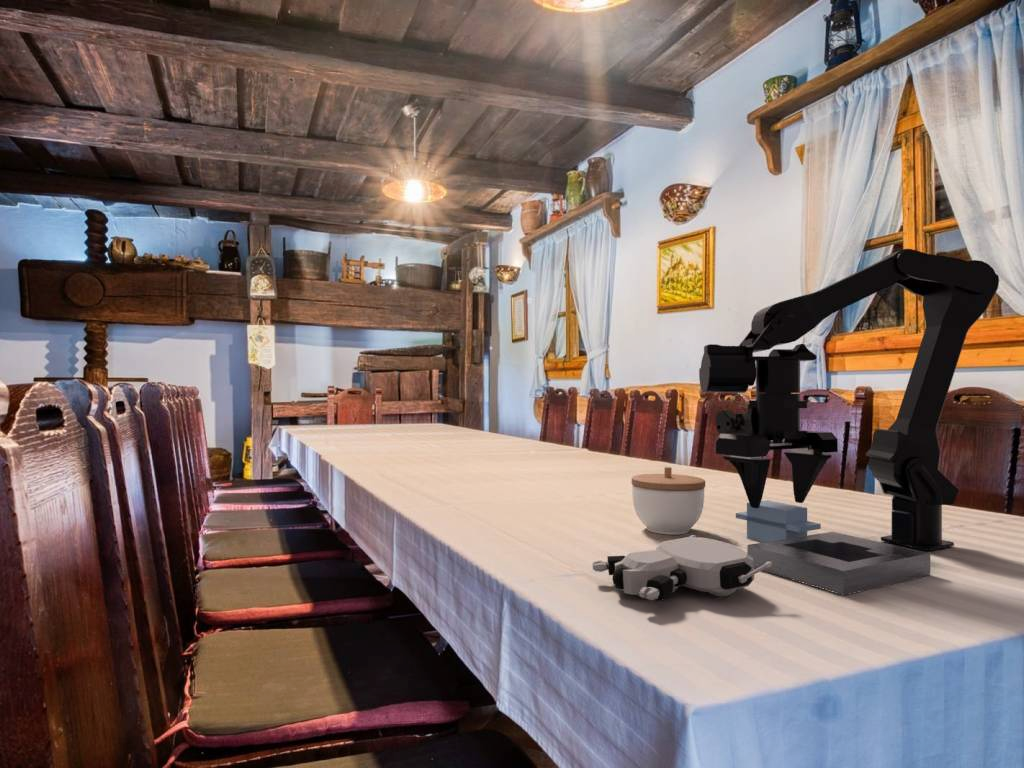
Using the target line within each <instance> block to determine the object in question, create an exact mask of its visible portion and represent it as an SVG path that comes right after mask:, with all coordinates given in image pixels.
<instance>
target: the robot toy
mask: <svg viewBox="0 0 1024 768" xmlns="http://www.w3.org/2000/svg"><path fill="white" fill-rule="evenodd" d="M606 558H607V561H605V560H595V561H593V562H592V569H593V571H595V572H601V573H602V572H604V571H608V575H609V576H612V584H613V585H614V587H615V588H616V589H618V590H621V591H622V590H623V594H627V595H635V596H638V597H639V598H642V599H645V600H647V601H656V602H659V601H663V600H665V599H666V598H669V597H670V596H672V595H673V593H674V592H676V591H677V590H678V589H679V587H682V586H683V587H685V588H688V589H691V590H692V589H693V590H695V591H700V592H705V593H709V594H710V595H712V596H717V597H727V596H730V595H732V594H734V593H735V592H736V591H737V590H738V589H739V590H740V589H742V588H746V587H748V588H749V586H750V585H751V584H752V582H753V581H754V580H755V575H756V574H758V573H760V572H762V570H763V569H765V568H768V567H770V566H771V565H772V562H766V563H765V564H764V565H763V566H761V567H759V568H757V569H755V568H754V563H753V558H752V557H751V556H750V555H749V554H748V553H747V551H746V550H744V549H743V548H741V547H738V546H736V545H733V544H731V543H728V542H725V541H721V540H717V539H712V538H709V537H707V538H706V537H698V536H697V535H695V534H692V535H689V536H686V537H682V538H675V539H669V540H664V541H662V542H661V543H660V544H659V545H657V547H656V548H655V549H652V550H643V551H636V552H629V553H628V554H627V555H612V556H611V555H609V556H607V557H606Z"/></svg>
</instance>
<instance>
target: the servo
mask: <svg viewBox="0 0 1024 768" xmlns="http://www.w3.org/2000/svg"><path fill="white" fill-rule="evenodd" d="M735 519H739V520H742V521H743V520H744V521H746V538H747V539H750V540H753V541H757V542H759V543H763V542H769V541H776V540H782V539H788V538H795V537H801V536H808V532H810V531H816V530H821V529H822V528H821V522H820V523H819V522H814V521H809V520H808V507H806V506H805V507H804V506H801V505H796V504H795V505H794V504H790V503H789V504H788V503H785V502H779V501H773V500H761V503H760V506H759V508H752V507H751V506H750V503H749V502H747V503H746V511H743V512H741V511H740V512H735Z"/></svg>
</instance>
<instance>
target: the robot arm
mask: <svg viewBox="0 0 1024 768" xmlns="http://www.w3.org/2000/svg"><path fill="white" fill-rule="evenodd" d="M999 283H1000V276H999V274H998V273H996V270H994V268H993V267H992V266H991V265H990V264H989V263H987V262H985V261H983V260H977V259H974V260H972V259H971V260H966V259H961V258H958V257H954V256H953V257H952V256H945V255H938V254H930V253H926V252H923V251H920V250H916V249H913V248H903V249H900V250H898V251H895V252H893V253H890V254H887V255H886V256H884V257H883V258H882V259H880V260H879V261H877V262H874V263H873V264H871V265H868V266H867V267H865V268H863V269H861V270H858V271H856V272H854V273H852V274H850V275H848V276H846V277H844V278H841V279H840V280H838V281H836V282H833V283H831V284H829V285H827V286H825V287H823V288H821V289H819V290H817V291H815V292H812V293H807V294H804V295H800V296H796V297H793V298H788V299H785V300H782V301H779V302H776V303H773V304H771V305H768V306H766V307H764V308H761V309H759V310H758V311H757V312H755V313H754V315H753V318H752V320H751V323H750V324H751V325H750V326H751V328H750V331H749V332H748V333H747V335H746V336H745V337H744V338H743V340H741V342H740V343H739V345H721V344H713V343H709V344H707V345H704V346H703V355H702V357H701V363H700V368H699V369H698V375H699V380H698V381H699V386H700V390H701V392H702V393H704V394H705V393H708V394H709V393H711V394H713V393H715V394H716V393H717V394H719V393H721V394H745V393H747V392H748V389H749V387H752V386H754V385H755V399H753V400H752V399H751V400H749V401H748V402H747V411H745V412H743V413H735V412H734V411H733V410H732V409H729V410H728V409H725V410H721V411H717V412H716V414H715V427H716V428H715V429H716V432H717V433H718V434H719V435H718V436H717V437H716V438H715V454H716V455H717V454H718V455H721V458H722V459H723V461H728V462H729V463H730V464H731V465H732V466H733V468H735V469H736V471H737V473H738V475H739V477H740V480H741V482H742V486H743V489H744V491H745V494H746V498H747V500H748V503H750V506H751V507H752V508H759V506H760V503H761V501H763V497H764V495H763V494H764V491H765V486H766V482H767V477H768V473H769V470H770V465H771V458H765V457H767V455H768V454H769V452H770V451H775V450H776V451H778V450H779V451H780V450H790V451H784V452H783V454H784V456H785V457H786V459H788V461H789V462H790V464H791V475H792V488H793V490H792V491H793V495H794V496H793V497H794V501H795V503H798V504H803V503H804V502H805V500H806V499H807V496H808V494H809V492H810V491H811V488H812V487H813V485H814V483H815V482H816V479H817V478H818V476H819V475H820V473H821V471H822V470H823V468H824V467H825V465H826V464H827V462H828V460H829V459H830V460H831V459H832V454H829V453H838V452H839V451H838V446H839V445H838V441H839V439H838V437H836V436H835V434H834V433H833V432H832V431H831V432H830V431H818V430H816V431H815V430H803V429H801V409H808V400H801V362H811V361H816V360H817V358H818V357H817V355H816V354H815V353H814V352H812V351H811V350H810V349H809V348H807V346H806V344H805V343H799V344H796V345H795V346H794V347H793V348H792V349H790V348H787V349H786V348H784V349H780V348H779V349H777V348H776V349H775V348H774V347H776V346H780V345H785V344H791V343H793V342H796V341H797V340H799V339H801V338H802V337H803V336H805V335H806V334H808V333H809V332H811V331H812V330H813V329H815V328H816V327H817V326H818V325H820V324H821V323H822V322H823V321H824V320H825V319H826V318H828V317H829V316H831V315H832V314H834V313H837V312H838V311H841V310H843V309H845V308H847V307H849V306H851V305H853V304H855V303H857V302H859V301H861V300H863V299H865V298H868V297H870V296H872V295H874V294H876V293H878V292H881V291H883V290H884V289H886V288H888V287H890V286H893V285H894V284H895V285H898V286H900V287H901V288H903V289H904V290H905V291H907V292H909V293H911V294H913V295H916V296H919V297H922V298H923V300H922V310H923V313H924V314H923V315H924V317H925V325H926V326H925V329H924V333H923V336H922V338H921V341H920V345H919V348H918V351H917V354H916V358H915V361H914V363H913V367H912V370H911V373H910V376H909V378H908V382H907V385H906V388H905V392H904V395H903V398H902V400H901V403H900V407H899V409H898V414H897V416H896V419H895V420H894V421H893V423H892V424H891V425H890V426H889V427H888V428H887V429H883V428H882V429H880V428H875V430H874V432H873V434H872V440H871V444H870V445H871V446H870V447H869V449H868V450H867V452H866V453H865V456H866V457H869V459H868V469H869V471H870V472H871V475H872V476H873V478H875V479H876V481H878V482H879V486H880V489H881V490H882V493H883V494H884V495H889V496H892V498H891V529H890V530H891V535H885V536H880V542H884V543H889V544H894V545H898V546H900V545H901V546H903V547H908V548H912V549H913V548H914V549H917V550H921V551H923V550H924V551H927V552H928V551H935V550H939V549H946V548H949V547H955V542H954V541H950V540H945V539H943V505H951V506H952V505H954V504H955V501H956V499H957V496H958V493H959V489H958V488H957V486H956V485H954V484H953V483H952V482H951V481H950V480H949V479H948V478H947V477H946V476H945V475H944V474H943V473H942V472H941V471H940V470H939V467H940V460H941V448H940V443H939V439H938V434H937V429H938V428H937V427H938V424H939V421H940V418H941V416H942V412H943V409H944V406H945V403H946V400H947V397H948V393H949V389H950V388H951V384H952V381H953V378H954V375H955V372H956V369H957V366H958V362H959V359H960V356H961V352H962V350H963V347H964V344H965V341H966V337H967V334H968V332H969V330H970V329H971V328H972V326H973V325H974V324H975V323H976V322H977V321H978V320H979V318H980V317H982V316H983V314H984V313H985V312H986V311H987V310H988V307H989V306H990V305H991V302H992V300H993V299H994V298H995V295H996V293H997V291H998V289H999V287H1000V286H999ZM772 348H773V349H772ZM771 349H772V350H771ZM768 350H770V352H769V354H768V356H767V355H766V356H762V355H761V356H759V355H758V356H756V355H755V356H754V353H758V352H762V351H764V352H765V351H768ZM827 453H828V454H827Z"/></svg>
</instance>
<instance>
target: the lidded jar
mask: <svg viewBox="0 0 1024 768" xmlns="http://www.w3.org/2000/svg"><path fill="white" fill-rule="evenodd" d="M663 471H664V473H644V474H636V475H633V476H632V477H631V491H632V492H631V494H632V495H631V496H632V502H633V508H634V511H635V513H636V516H637V518H638V519H639V521H640V522H641V523H642V524H643V525H644V526H645V527H646V530H647V531H648V532H651V533H653V534H654V533H655V534H659V535H671V536H672V535H673V536H674V535H686V534H688V533H689V532H690V529H691V528H693V527H694V526H695V525H696V524H697V522H698V521H699V520H700V517H701V515H702V513H703V509H704V503H705V488H706V480H705V479H704V478H702V477H698V476H694V475H693V476H692V475H687V474H686V475H685V474H676V473H675V474H673V472H672V467H671V466H670V467H669V466H665V467H664V470H663Z"/></svg>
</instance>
